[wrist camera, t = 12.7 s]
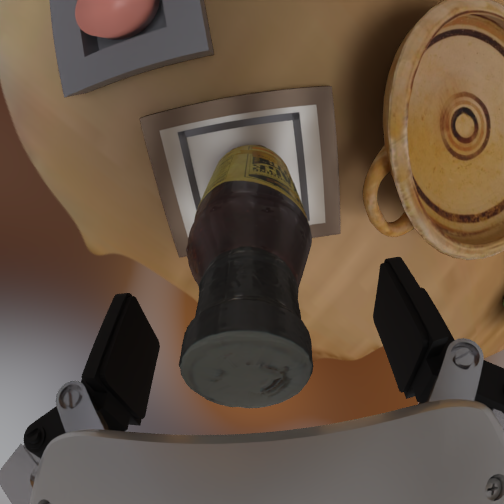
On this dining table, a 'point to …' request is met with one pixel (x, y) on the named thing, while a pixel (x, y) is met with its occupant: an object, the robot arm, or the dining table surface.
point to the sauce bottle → (248, 284)
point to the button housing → (127, 45)
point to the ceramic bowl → (446, 131)
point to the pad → (240, 134)
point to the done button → (115, 17)
